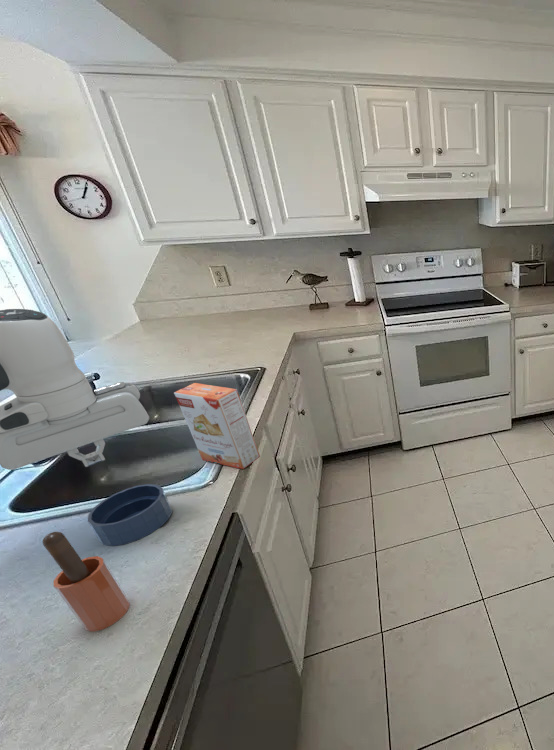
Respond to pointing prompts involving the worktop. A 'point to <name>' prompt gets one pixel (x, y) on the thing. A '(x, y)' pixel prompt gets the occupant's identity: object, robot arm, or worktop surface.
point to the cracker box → (218, 424)
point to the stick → (65, 556)
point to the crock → (94, 596)
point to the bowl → (130, 514)
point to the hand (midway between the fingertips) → (95, 462)
